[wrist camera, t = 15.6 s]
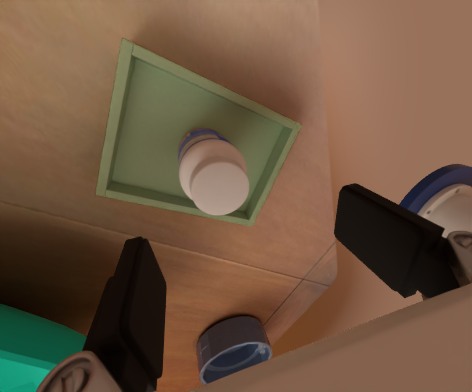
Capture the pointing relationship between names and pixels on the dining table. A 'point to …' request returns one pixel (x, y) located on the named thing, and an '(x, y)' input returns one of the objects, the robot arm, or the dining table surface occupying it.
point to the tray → (182, 134)
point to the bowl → (231, 348)
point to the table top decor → (32, 348)
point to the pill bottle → (212, 171)
